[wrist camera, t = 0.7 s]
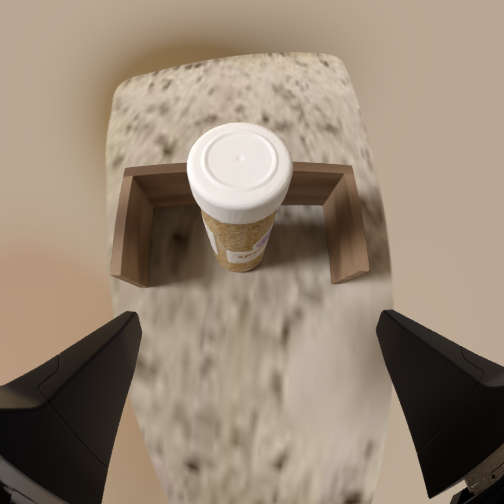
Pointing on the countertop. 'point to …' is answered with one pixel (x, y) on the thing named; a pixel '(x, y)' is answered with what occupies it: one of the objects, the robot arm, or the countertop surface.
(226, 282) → the countertop surface
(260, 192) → the sprinkles bottle
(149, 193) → the walnut crate
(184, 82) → the countertop surface
